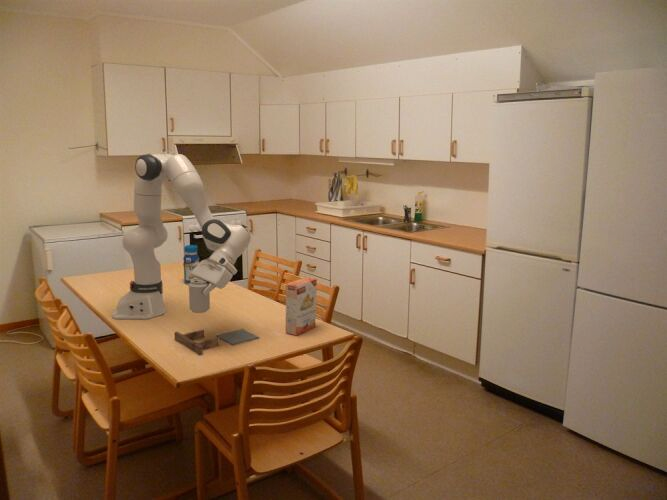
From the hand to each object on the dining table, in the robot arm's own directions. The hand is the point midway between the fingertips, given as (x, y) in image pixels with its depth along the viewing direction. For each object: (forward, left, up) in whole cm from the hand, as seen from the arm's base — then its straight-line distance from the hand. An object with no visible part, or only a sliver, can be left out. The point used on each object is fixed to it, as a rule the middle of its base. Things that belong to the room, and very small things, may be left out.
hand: (197, 291), depth 211 cm
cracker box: (+41, +8, -21) cm, 47 cm away
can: (0, 0, -8) cm, 8 cm away
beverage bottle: (-3, +90, -21) cm, 93 cm away
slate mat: (+15, +4, -21) cm, 26 cm away
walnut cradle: (+1, 0, -21) cm, 21 cm away
